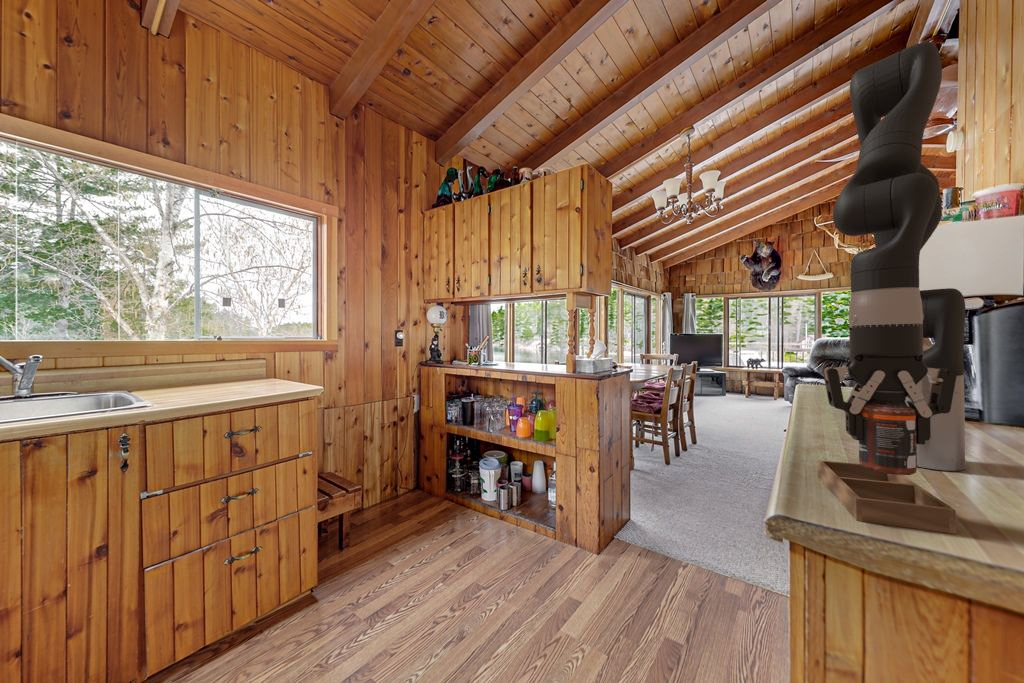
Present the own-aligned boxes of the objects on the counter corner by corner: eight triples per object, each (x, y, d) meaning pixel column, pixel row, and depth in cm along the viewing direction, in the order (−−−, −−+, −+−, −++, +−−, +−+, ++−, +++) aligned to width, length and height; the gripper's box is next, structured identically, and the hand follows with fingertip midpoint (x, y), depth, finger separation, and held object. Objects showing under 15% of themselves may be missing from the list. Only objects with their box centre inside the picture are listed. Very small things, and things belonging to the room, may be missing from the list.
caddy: (817, 476, 69) (817, 460, 69) (890, 484, 65) (889, 466, 65) (856, 520, 53) (856, 498, 53) (955, 533, 49) (955, 510, 49)
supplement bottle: (930, 478, 52) (928, 392, 52) (877, 475, 53) (876, 392, 53) (895, 463, 57) (894, 387, 57) (849, 462, 59) (847, 387, 59)
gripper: (938, 321, 55) (940, 439, 56) (814, 325, 61) (815, 431, 62) (972, 319, 49) (975, 453, 49) (829, 323, 55) (831, 443, 55)
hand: (886, 440), depth 55 cm, fingers closed on supplement bottle, 6 cm apart
